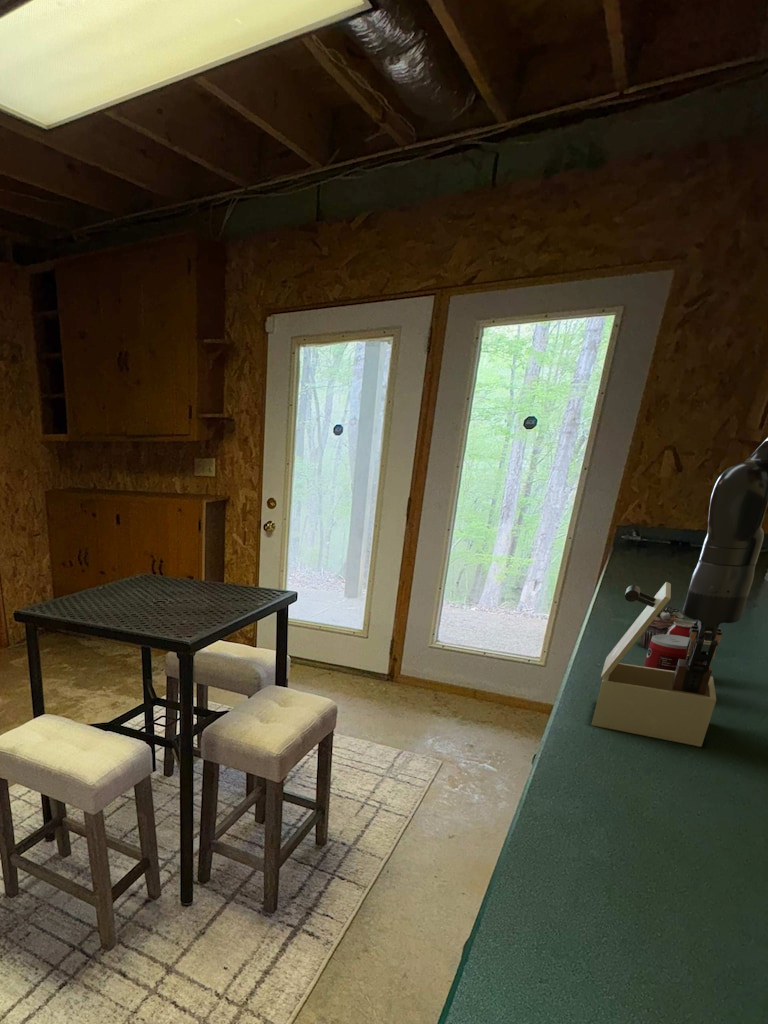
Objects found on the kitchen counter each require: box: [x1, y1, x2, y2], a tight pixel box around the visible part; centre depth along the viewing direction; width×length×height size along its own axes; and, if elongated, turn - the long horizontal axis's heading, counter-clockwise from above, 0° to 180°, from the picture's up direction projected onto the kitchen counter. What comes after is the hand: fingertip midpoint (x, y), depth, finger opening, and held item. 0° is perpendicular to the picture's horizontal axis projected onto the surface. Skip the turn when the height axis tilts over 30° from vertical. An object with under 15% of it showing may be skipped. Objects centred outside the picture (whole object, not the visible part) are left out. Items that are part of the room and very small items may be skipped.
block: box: [672, 659, 713, 695], centre depth 107 cm, size 4×4×4 cm
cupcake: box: [640, 605, 686, 650], centre depth 150 cm, size 10×10×10 cm
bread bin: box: [591, 662, 717, 748], centre depth 112 cm, size 16×13×9 cm
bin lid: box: [600, 581, 672, 680], centre depth 111 cm, size 16×13×5 cm
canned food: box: [643, 634, 689, 671], centre depth 125 cm, size 8×8×11 cm
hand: (689, 686), depth 108 cm, fingers closed on block, 4 cm apart
